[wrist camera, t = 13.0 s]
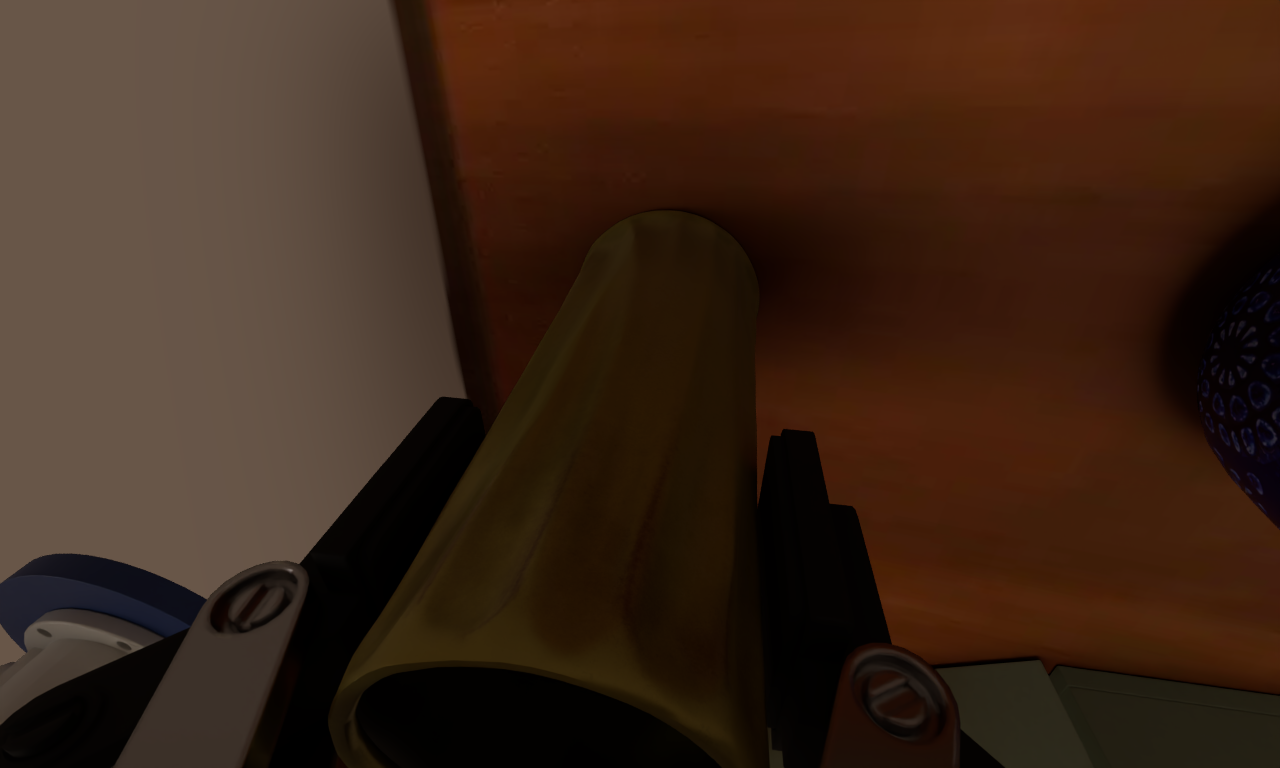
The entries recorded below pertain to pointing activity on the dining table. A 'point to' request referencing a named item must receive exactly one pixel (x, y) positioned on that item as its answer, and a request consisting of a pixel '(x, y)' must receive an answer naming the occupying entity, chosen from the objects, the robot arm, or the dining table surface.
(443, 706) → the vase
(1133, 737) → the cupboard
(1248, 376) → the planter
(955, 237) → the dining table surface
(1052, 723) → the cupboard door
